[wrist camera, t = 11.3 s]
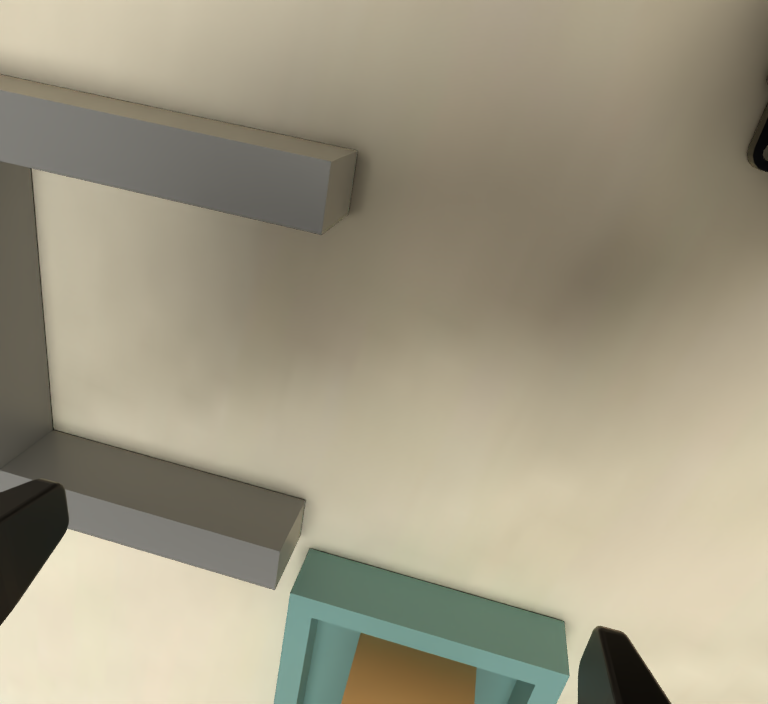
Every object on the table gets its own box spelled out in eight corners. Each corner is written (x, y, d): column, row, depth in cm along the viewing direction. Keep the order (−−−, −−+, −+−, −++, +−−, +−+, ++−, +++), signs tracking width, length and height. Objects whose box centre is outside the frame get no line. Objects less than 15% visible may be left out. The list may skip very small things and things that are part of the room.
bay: (357, 150, 18) (331, 161, 16) (299, 536, 25) (274, 590, 23) (-32, 67, 20) (-118, 64, 17) (15, 455, 27) (-40, 496, 24)
